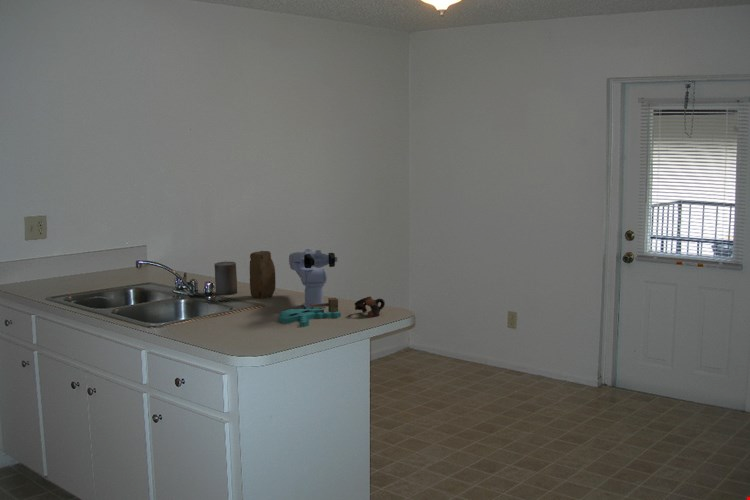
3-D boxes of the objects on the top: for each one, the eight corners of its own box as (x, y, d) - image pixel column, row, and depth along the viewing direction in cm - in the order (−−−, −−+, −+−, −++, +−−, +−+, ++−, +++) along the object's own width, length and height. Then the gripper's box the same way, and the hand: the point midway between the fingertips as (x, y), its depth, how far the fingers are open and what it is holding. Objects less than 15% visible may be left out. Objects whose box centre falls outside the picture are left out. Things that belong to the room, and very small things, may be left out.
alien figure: (340, 318, 300) (303, 311, 313) (340, 312, 300) (303, 306, 313) (304, 328, 285) (267, 320, 298) (304, 322, 285) (267, 315, 297)
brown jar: (259, 299, 336) (258, 253, 333) (248, 297, 340) (246, 252, 338) (278, 295, 344) (277, 250, 341) (266, 293, 349) (265, 249, 346)
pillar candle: (238, 290, 356) (236, 258, 354) (236, 294, 346) (235, 261, 344) (216, 291, 355) (214, 259, 353) (214, 295, 345) (212, 262, 343)
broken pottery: (363, 320, 297) (355, 300, 299) (358, 325, 306) (350, 306, 307) (391, 309, 301) (382, 290, 303) (385, 315, 310) (376, 296, 311)
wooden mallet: (310, 314, 306) (309, 299, 305) (335, 312, 308) (335, 297, 308) (312, 316, 302) (311, 301, 301) (338, 314, 305) (337, 299, 304)
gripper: (297, 250, 309) (304, 252, 296) (333, 248, 313) (341, 250, 300) (298, 268, 309) (305, 270, 296) (334, 266, 313) (341, 268, 300)
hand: (323, 261), depth 298 cm, fingers open, 7 cm apart
